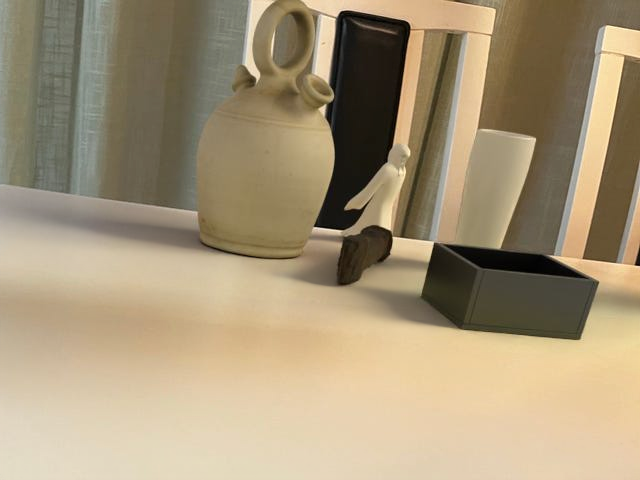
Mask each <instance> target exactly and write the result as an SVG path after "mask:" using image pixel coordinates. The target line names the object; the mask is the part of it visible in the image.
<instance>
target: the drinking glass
mask: <svg viewBox="0 0 640 480" xmlns="http://www.w3.org/2000/svg"><path fill="white" fill-rule="evenodd" d="M536 142H537V138H536V137H535V136H532V135H528V134H522V133H518V132H517V133H516V132H510V131H504V130H496V129H488V128H478V129H477V131H476V134H475V137H474V140H473V144H472V146H471V150H470V154H469V157H468V163H467V165H466V166H467V167H466V172H465V177H464V182H463V189H462V193H461V194H462V195H461V201H460V206H459V212H458V217H457V221H456V229H455V234H454V239H453V244H458V245H467V246H477V247H487V248H496V249H502V245H503V243H504V240H505V237H506V235H507V231H508V228H509V226H510V223H511V220H512V219H513V215H514V213H515V210H516V207H517V204H518V201H519V199H520V196H521V193H522V190H523V187H524V184H525V182H526V180H527V176H528V173H529V169H530V166H531V162H532V159H533V156H534V151H535V147H536Z"/></svg>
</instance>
